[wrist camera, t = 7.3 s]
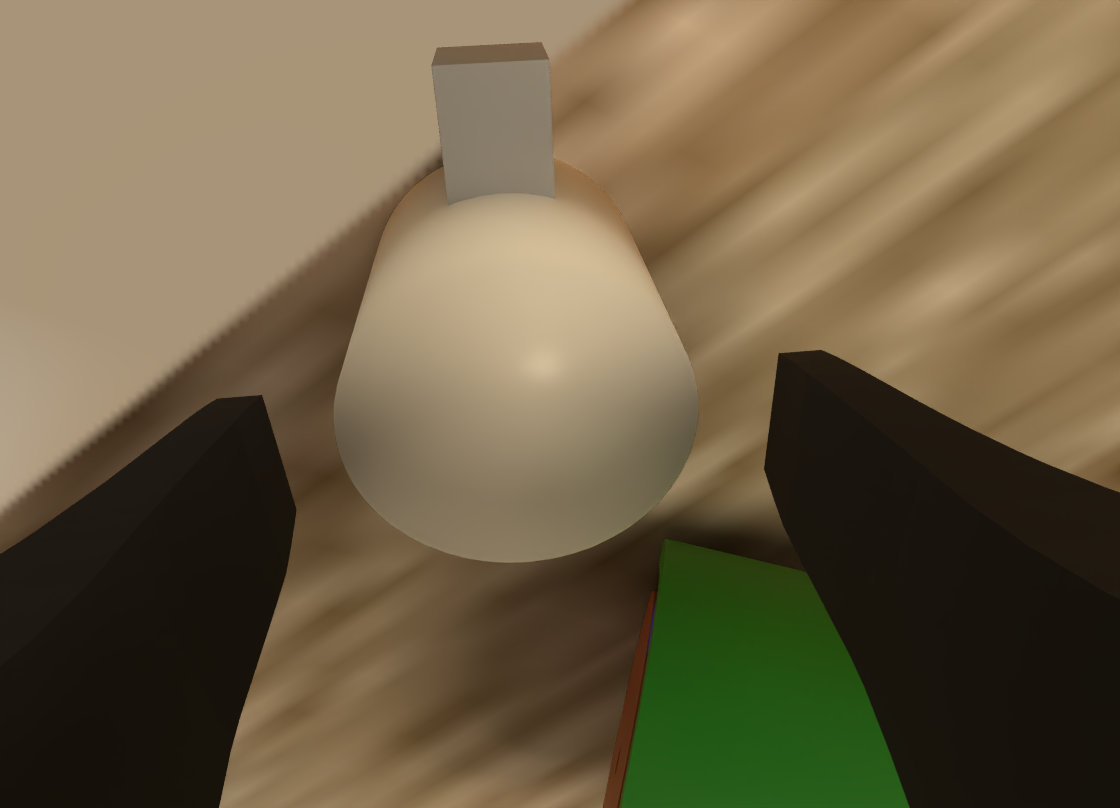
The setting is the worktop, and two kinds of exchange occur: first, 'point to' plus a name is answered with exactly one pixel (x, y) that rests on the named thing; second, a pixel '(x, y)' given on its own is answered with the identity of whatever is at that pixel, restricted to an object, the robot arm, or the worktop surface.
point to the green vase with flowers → (745, 696)
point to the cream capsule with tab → (510, 340)
